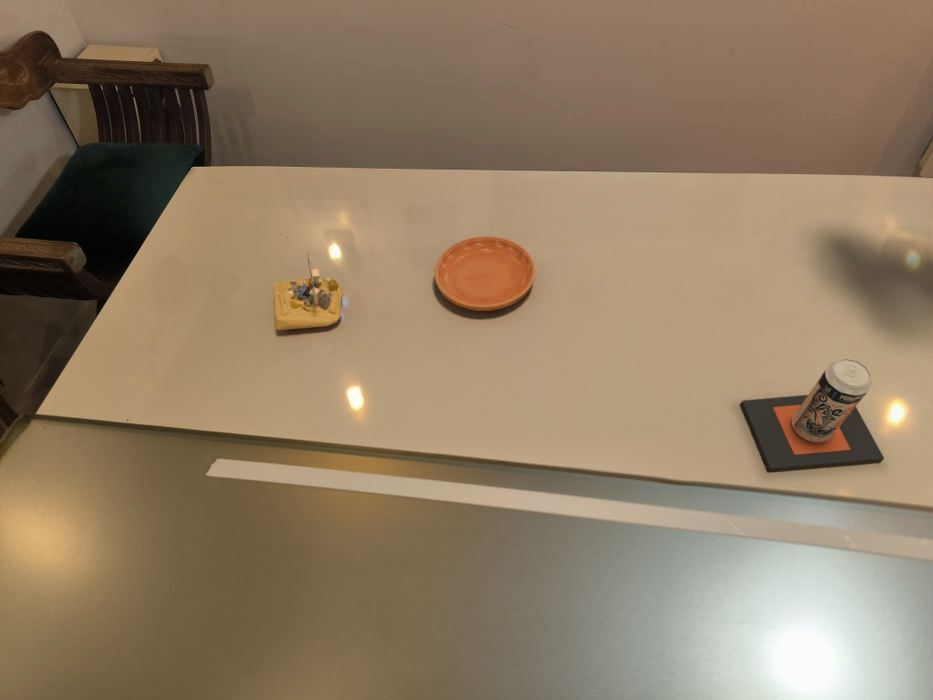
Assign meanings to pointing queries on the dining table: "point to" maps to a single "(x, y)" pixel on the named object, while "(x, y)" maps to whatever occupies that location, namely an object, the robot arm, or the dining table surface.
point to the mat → (795, 452)
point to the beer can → (832, 400)
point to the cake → (307, 302)
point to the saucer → (484, 273)
